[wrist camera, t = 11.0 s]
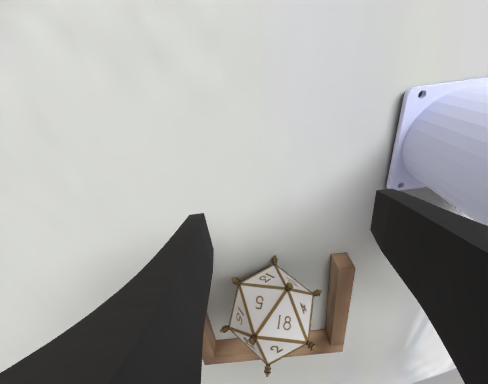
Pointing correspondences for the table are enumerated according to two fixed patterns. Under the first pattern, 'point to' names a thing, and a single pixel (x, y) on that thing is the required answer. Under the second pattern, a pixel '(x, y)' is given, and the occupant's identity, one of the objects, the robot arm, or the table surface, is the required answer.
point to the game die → (272, 314)
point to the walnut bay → (322, 339)
